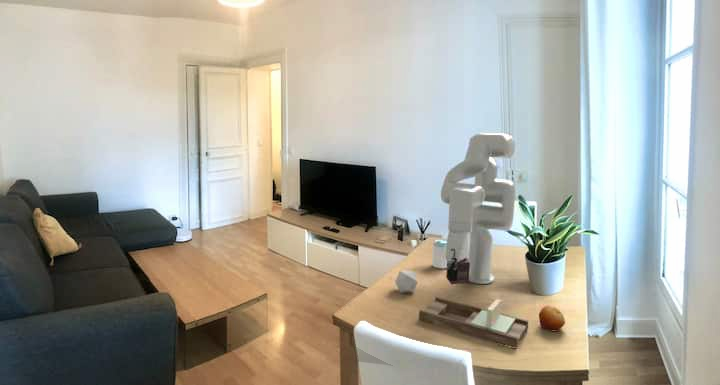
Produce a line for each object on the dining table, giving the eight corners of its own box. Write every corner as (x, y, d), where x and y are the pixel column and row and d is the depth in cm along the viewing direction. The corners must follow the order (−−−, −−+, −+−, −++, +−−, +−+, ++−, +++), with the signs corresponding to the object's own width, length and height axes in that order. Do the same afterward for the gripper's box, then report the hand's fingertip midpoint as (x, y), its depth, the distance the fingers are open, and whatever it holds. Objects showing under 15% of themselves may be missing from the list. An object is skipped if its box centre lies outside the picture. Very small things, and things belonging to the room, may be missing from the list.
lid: (482, 312, 150) (483, 294, 149) (515, 320, 144) (516, 302, 143) (470, 325, 141) (471, 306, 140) (505, 335, 135) (506, 315, 134)
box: (463, 277, 151) (464, 256, 149) (469, 284, 145) (470, 262, 143) (445, 277, 150) (446, 257, 149) (450, 284, 144) (451, 263, 143)
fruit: (535, 314, 152) (550, 298, 148) (555, 331, 149) (571, 315, 145) (529, 323, 145) (544, 307, 142) (550, 341, 142) (566, 325, 139)
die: (410, 299, 168) (423, 277, 169) (391, 287, 168) (404, 265, 170) (408, 297, 176) (420, 276, 177) (389, 286, 176) (402, 265, 178)
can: (443, 270, 196) (444, 244, 193) (429, 266, 200) (430, 241, 198) (451, 266, 201) (452, 240, 199) (437, 262, 205) (438, 237, 203)
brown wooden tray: (436, 305, 161) (436, 296, 161) (527, 330, 144) (528, 320, 143) (418, 320, 150) (419, 310, 149) (515, 349, 132) (516, 338, 132)
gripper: (459, 218, 153) (456, 266, 156) (438, 229, 139) (436, 282, 142) (480, 221, 149) (477, 270, 152) (461, 233, 135) (458, 287, 138)
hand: (457, 276), depth 147 cm, fingers closed on box, 8 cm apart
